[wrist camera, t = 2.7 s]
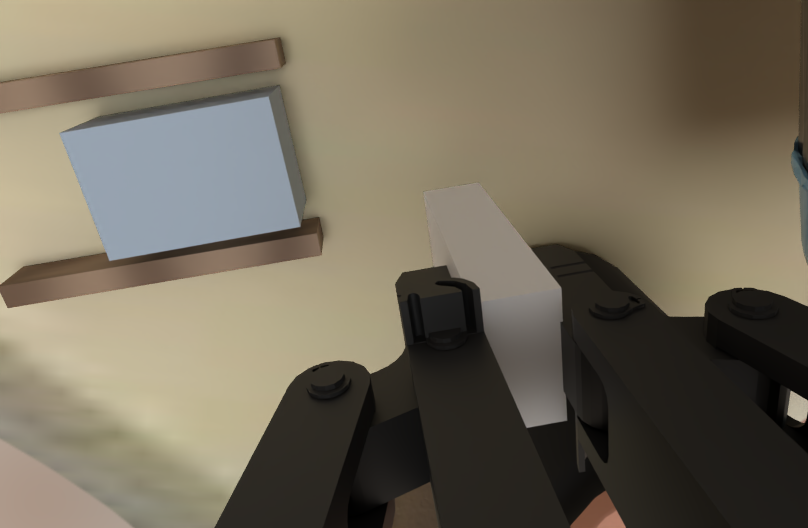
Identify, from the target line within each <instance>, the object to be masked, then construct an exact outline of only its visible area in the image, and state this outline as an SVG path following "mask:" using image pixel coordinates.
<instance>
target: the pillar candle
mask: <svg viewBox="0 0 808 528" xmlns="http://www.w3.org/2000/svg"><path fill="white" fill-rule="evenodd" d="M392 528H438V522H437V517H436V511H435V506H434V501H433V495H432V490H431V484H430V482H429V483H427V484H424V485H422V486H420V487H418V488H416V489H414V490H412V491H410V492H408V493H405V494H403V495H401V496H399V497H397V498H395V515H394V520H393V525H392Z"/></svg>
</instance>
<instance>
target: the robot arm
mask: <svg viewBox="0 0 808 528" xmlns="http://www.w3.org/2000/svg"><path fill="white" fill-rule="evenodd" d="M791 165H792V168H793V172H794V175H795V177H796V178H797V180H798V182H799V195H800V217H801V239H802V246H803V251H804V256H805V259H806V262H807V264H808V0H801V33H800V83H799V134H798V136H797V138H796V140H795V143H794V151H793V152H792V156H791ZM423 193H424V200H425V208H426V215H427V222H428V229H429V237H430V244H431V251H432V259H433V266H434V267H433V268H427V269H421V270H415V271H409V272H403V273H402V274H401V276H400V277H399V279H398V280H397V282H396V284H395V286H396V292H397V298H398V304H399V310H400V316H401V322H402V328H403V334H404V340H405V349H404V351H403V353H402V355H401V356H400V357H399V358H398V359H397V360H396V361H395V362H393V363H392V364H390V365H389V366H388V367H385V368H383V369H381V370H379V371H377V372H374V373H372V374H370V373H369V372H368V371H367V370H366V368H365V367H364V366H362V365H360V364H357V363H355V362H350V361H333V362H325V363H321V364H319V365H316V366H313V367H311V368H309V369H307V370H306V371H304V372H303V373H301V374H300V375H298V376H297V377H296V378H295V379H294V380H293V382H292V383H291V384H290V385H289V387H288V388H287V390H286V392H285V394H284V396H283V398H282V400H281V402H280V404H279V406H278V408H277V409H276V411H275V413H274V415H273V417H272V419H271V421H270V423H269V425H268V427H267V429H266V430H265V432H264V434H263V436H262V438H261V440H260V442H259V444H258V446H257V448H256V450H255V451H254V453H253V455H252V457H251V459H250V461H249V463H248V465H247V467H246V469H245V471H244V472H243V474H242V476H241V478H240V480H239V482H238V484H237V486H236V488H235V490H234V492H233V493H232V495H231V497H230V499H229V501H228V503H227V505H226V507H225V509H224V511H223V513H222V514H221V516H220V518H219V520H218V522H217V524H216V526H215V528H392V525H393V520H394V515H395V498H397V497H399V496H401V495H403V494H405V493H408V492H410V491H412V490H414V489H416V488H418V487H420V486H422V485H424V484H427V483H429V482H430V484H431V490H432V495H433V501H434V506H435V511H436V517H437V522H438V528H571V527H570V525H569V523H568V521H567V518H566V516H565V514H564V512H563V509H562V507H561V505H560V502H559V500H558V498H557V496H556V493H555V491H554V489H553V487H552V484H551V482H550V480H549V477H548V475H547V473H546V471H545V468H544V466H543V464H542V462H541V459H540V457H539V455H538V453H537V450H536V448H535V446H534V443H533V441H532V439H531V437H530V434H529V432H528V430H527V428H529V427H534V426H540V425H545V424H551V423H556V422H562V421H567V406H566V396H567V398H568V399H569V401H570V403H571V405H572V406H573V408H574V410H575V422H576V450H577V465H578V470H579V473H580V472H585V459H586V457H588V458H589V460H590V462H591V464H592V466H593V468H594V470H595V471H596V473H597V475H598V477H599V479H600V481H601V482H602V484H603V486H604V488H605V490H606V492H607V494H608V495H609V497H610V499H611V501H612V503H613V505H614V507H615V508H616V510H617V512H618V514H619V516H620V518H621V519H622V521H623V523H624V525H625V527H626V528H808V414H807V419H806V422H805V423H801V422H799V421H797V420H795V419H793V418H792V417H790V416H788V415H787V412H788V405H789V398H790V391H793V392H795V393H796V394H798V395H800V396H801V397H803V398H805V399H807V400H808V307H807V306H805V305H803V304H801V303H798V302H796V301H794V300H791V299H789V298H787V297H785V296H781V295H778V294H775V293H772V292H769V291H763V290H757V289H755V288H744V289H742V288H734V289H730V290H725V291H720V292H717V293H716V294H714V295H712V296H710V297H709V298H708V300H707V302H706V303H705V314H704V317H669V316H664V315H663V314H662V313H661V312H660V311H659V310H658V309H656V308H655V307H654V306H653V305H652V304H651V303H650V302H649V301H647V300H646V299H644V298H642V297H641V296H638V295H635V294H631V293H628V292H619V291H612V290H611V289H610V288H609V287H608V286H607V285H606V284H605V282H604V281H603V280H602V279H601V278H600V277H599V276H598V275H597V274H596V273H595V272H592V269H591V268H590V267H589V266H588V265H587V264H586V263H584V261H583V259H582V258H581V257H580V256H579V255H578V254H577V253H576V252H575V251H573V250H570V249H568V248H565V247H563V246H560V245H558V244H556V245H551V246H545V247H539V248H533V249H531V248H530V247H529V246H528V245H527V243H526V242H525V241H524V239H523V238H522V237H521V236H520V234H519V233H518V232H517V230H516V229H515V228H514V227H513V225H512V224H511V223H510V222H509V220H508V219H507V218H506V216H505V215H504V214H503V213H502V211H501V210H500V209H499V207H498V206H497V205H496V204H495V202H494V201H493V200H492V198H491V197H490V196H489V195H488V193H487V192H486V191H485V190H484V188H483V187H482V186H481V184H480V183H479V182H477V183H471V184H465V185H459V186H453V187H447V188H441V189H435V190H429V191H423Z"/></svg>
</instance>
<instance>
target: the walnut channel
mask: <svg viewBox="0 0 808 528" xmlns="http://www.w3.org/2000/svg"><path fill="white" fill-rule="evenodd" d="M285 64H286V62H285V58H284V53H283V49H282V44H281V39H280V38H274V39H267V40H261V41H255V42H249V43H242V44H236V45H230V46H224V47H217V48H211V49H205V50H199V51H192V52H186V53H180V54H174V55H167V56H161V57H155V58H149V59H142V60H136V61H130V62H124V63H118V64H111V65H105V66H99V67H93V68H86V69H80V70H74V71H68V72H61V73H55V74H49V75H43V76H36V77H30V78H24V79H18V80H11V81H5V82H0V113H6V112H12V111H18V110H24V109H30V108H37V107H43V106H49V105H55V104H61V103H68V102H74V101H80V100H86V99H92V98H99V97H105V96H111V95H117V94H123V93H130V92H136V91H142V90H148V89H154V88H161V87H167V86H173V85H179V84H185V83H191V82H198V81H204V80H210V79H216V78H222V77H229V76H235V75H241V74H247V73H253V72H260V71H266V70H272V69H278V68H281V67H282V66H283V65H285ZM322 246H323V234H322V229H321V225H320V220H319V217H318V218H312V219H306V220H302V222H301V226H300V227H297V228H291V229H285V230H280V231H274V232H269V233H263V234H257V235H252V236H246V237H241V238H235V239H229V240H224V241H218V242H213V243H207V244H202V245H196V246H190V247H185V248H179V249H174V250H168V251H162V252H157V253H151V254H146V255H140V256H134V257H129V258H123V259H118V260H112V261H109V258H108V256H107V253H103V254H97V255H91V256H85V257H79V258H73V259H67V260H61V261H55V262H49V263H43V264H38V265H32V266H26V267H22V268H21V269H20V270H18V271H17V272H16V273H15V274H13V275H12V276H11V277H10V278H8V279H7V280H6V281H5V282H3V283H2V284H1V285H0V293H1V295H2V297H3V299H4V301H5V303H6V305H7V308H11V307H17V306H23V305H29V304H35V303H41V302H47V301H53V300H59V299H64V298H70V297H76V296H82V295H88V294H94V293H100V292H106V291H112V290H118V289H124V288H130V287H136V286H141V285H147V284H153V283H159V282H165V281H171V280H177V279H183V278H189V277H195V276H201V275H207V274H213V273H218V272H224V271H230V270H236V269H242V268H248V267H254V266H260V265H266V264H272V263H278V262H284V261H290V260H296V259H301V258H307V257H313V256H319V255H322Z"/></svg>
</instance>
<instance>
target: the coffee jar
mask: <svg viewBox="0 0 808 528" xmlns="http://www.w3.org/2000/svg"><path fill="white" fill-rule="evenodd" d="M575 252H576V253H577V254H578V255H579V256H580V257H581V258H582V259H583V261H584V263H586V264H587V265H588V266H589V267H590V268H591V269H592V272H595V273H596V274H597V275H598V276H599V277H600V278H601V279H602V280H603V281H604V282H605V284H606V285H607V286H608V287H609V288H610V289H611V290H612V291H619V292H628V293H631V294H635V295H638V296H641V297H642V298H644V299H646V300H647V301H649V302H650V303H651V304H652V305H653V306H654V307H655V308H656V309H658V310H659V311H660V312H661V313H662V314H663V315H664V316H667V315H666V314H665V313H664V312H663V311H662V310H661V309H660V308H659V307H658V306H657V305H656V304H655V303H654V302H653V301H652V300H650V299H649V298H648V297H647V296H646V295H645V294H644V293H643V292H642V291H641V290H640V289H639V288H638V287H637V286H636V285H635V284H634V283H633V282H632V281H631V280H630V279H629V278H627V277H626V276H625V275H624V274H623V273H622V272H621V271H620V270H619V269H618V268H617V267H615V266H613V265H612V264H610V263H608V262H606V261H605V260H603V259H601V258H600V257H598V256H596V255H593V254H588V253H583V252H578V251H575ZM566 406H567V421H562V422H556V423H551V424H545V425H540V426H534V427H529V428H527V430H528V432H529V434H530V437H531V439H532V441H533V443H534V446H535V448H536V450H537V453H538V455H539V457H540V459H541V462H542V464H543V466H544V468H545V471H546V473H547V475H548V477H549V480H550V482H551V484H552V487H553V489H554V491H555V493H556V496H557V498H558V500H559V502H560V505H561V507H562V509H563V512H564V514H565V516H566V518H567V521H568V523H569V525H570V527H571V528H626V527H625V525H624V523H623V521H622V519H621V518H620V516H619V514H618V512H617V510H616V508H615V507H614V505H613V503H612V501H611V499H610V497H609V495H608V494H607V492H606V490H605V488H604V486H603V484H602V482H601V481H600V479H599V477H598V475H597V473H596V471H595V470H594V468H593V466H592V464H591V462H590V460H589V458H588V457H586V459H585V472H580V473H579V470H578V465H577V450H576V422H575V410H574V408H573V406H572V405H571V403H570V401H569V399H568V398H567V396H566Z"/></svg>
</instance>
